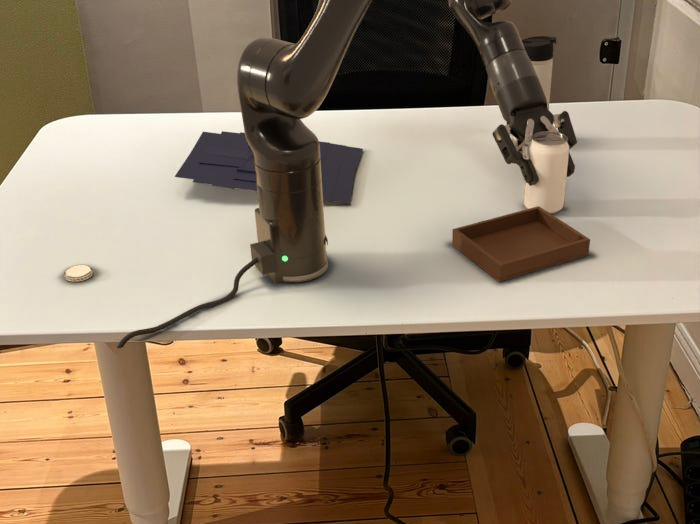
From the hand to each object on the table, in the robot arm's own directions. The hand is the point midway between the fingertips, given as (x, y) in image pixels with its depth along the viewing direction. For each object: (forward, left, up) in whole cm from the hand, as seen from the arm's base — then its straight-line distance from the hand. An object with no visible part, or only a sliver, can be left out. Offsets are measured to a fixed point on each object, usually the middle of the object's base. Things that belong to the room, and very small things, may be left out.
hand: (552, 178), depth 150 cm
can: (0, +2, -6) cm, 6 cm away
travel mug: (+14, +26, -6) cm, 30 cm away
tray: (-12, -8, -6) cm, 16 cm away
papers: (-34, +37, -6) cm, 50 cm away
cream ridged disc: (-73, +18, -6) cm, 75 cm away
